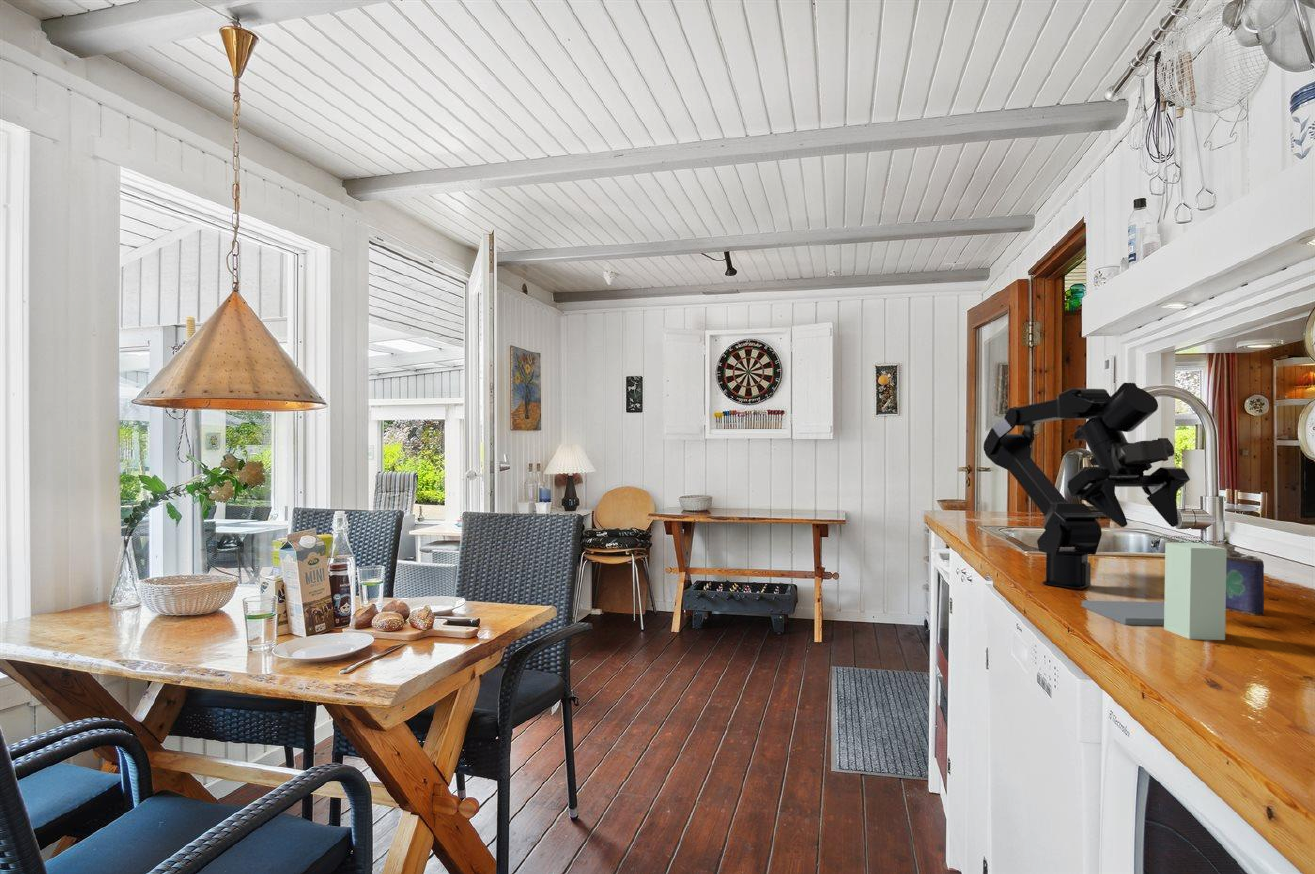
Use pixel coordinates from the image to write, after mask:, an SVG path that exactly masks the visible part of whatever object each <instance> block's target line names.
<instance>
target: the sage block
mask: <svg viewBox="0 0 1315 874" xmlns="http://www.w3.org/2000/svg"><path fill="white" fill-rule="evenodd" d="M1226 555H1227V549H1226V548H1223V547H1220V546H1216V545H1210V544H1206V543H1201V542H1165V549H1164V558H1165V559H1164V561H1165V562H1164V601H1163V602H1164V625H1163V630H1165V631H1167V632H1169V633H1170V632H1171V633H1173V634H1175V635H1178V636H1180V637H1183V638H1185V639H1188V640H1198V641H1199V640H1203V641H1206V640H1207V641H1210V640H1215V641H1217V640H1218V641H1225V640H1226V611H1227V610H1226Z"/></svg>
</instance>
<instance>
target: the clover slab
mask: <svg viewBox="0 0 1315 874" xmlns="http://www.w3.org/2000/svg"><path fill="white" fill-rule="evenodd" d="M1222 548H1226V549H1227V555H1226V610H1225V611H1232V612H1235V613H1237V612H1238V613H1242V614H1247V615H1251V616H1260V617H1262V616H1264V612H1265V611H1264V609H1265V593H1264V591H1265V587H1264V586H1265V584H1264V582H1265V579H1264V578H1265V577H1264V576H1265V572H1264V570H1265V564H1264V561H1263V560H1262V559H1261V558H1256V557H1254V555H1249V554H1247V555H1246V556H1245V554H1244V553H1241V552H1239V551H1237V550H1235V549H1236V548H1238V547H1237V545H1234V544H1233V545H1227V546H1226V545H1225V546H1224V545H1223V547H1222Z"/></svg>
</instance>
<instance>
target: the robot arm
mask: <svg viewBox="0 0 1315 874" xmlns="http://www.w3.org/2000/svg"><path fill="white" fill-rule="evenodd" d="M1158 408H1159V402H1158V401H1157V399H1156V398H1155V396H1153V395H1152V394H1150V393H1149V392H1148V391H1146V390H1144V389H1143V388H1140V387H1138V385H1137V384H1136V383H1135V382H1123V383H1122V384H1121V385H1120V386H1119V387H1118V389H1117V390H1116V391H1115V392H1114V393H1113V394H1112V395H1110V394H1109V392H1108V391H1107V389H1105V388H1074V387H1073V388H1070V389H1067V390H1064V391H1063V392H1061V393H1059V394H1058V395H1057V397H1056V398H1054V399H1049V400H1045V401H1041V402H1036V403H1031V404H1027V405H1022V406H1013V407H1010V408H1009V409H1008V410H1007V411H1006V413H1005V415H1004V417H1003V418H1002V419H1001V420H999V421H998V422H997V423H996V424H994V425H993V426H992V427H991V428H990V430H989V431H988V432H989V433H988V434H987V436H986V438H985V440H984V442H983V451H984V453H985V456H986V457H987V458H988V459H989V460H990V461H991V462H992V463H994V464H995V465H996V466H998V467H1001V468H1002V469H1004V470H1007V471H1008V472H1009V473H1011V475H1012V476H1013V478H1014V479H1015V480H1016V481H1017V482H1018V484H1019V485H1020V486H1021V488H1022V489H1023V490H1024V492H1025V493H1026V494H1027V495H1028V496H1029V498H1030V499H1031V501H1033V503H1034V504H1035V505H1036V507H1037V508H1038V509H1039V511H1040V512H1041V513H1042V515H1043V516H1044V524H1043V528H1044V532H1043V533H1042V534H1041V535H1040V536H1039V537H1038V538H1037V540H1036V543H1037V549H1038V551H1039V552H1041V553H1045V554H1046V555H1045V559H1046V560H1045V580H1042V581H1041V584H1043V585H1050V586H1054V587H1059V588H1060V587H1061V588H1065V589H1066V588H1067V589H1072V590H1081V589H1085V588H1088V587H1090V586H1091V585H1092V583H1091V575H1092V574H1091V573H1092V572H1091V570H1092V569H1091V567H1092V565H1091V564H1092V563H1091V562H1089V561H1088V560H1089V555H1093V556H1094V555H1095V556H1096V554H1097V550H1098V548H1099V545H1100V541H1101V539H1102V534H1103V533H1102V527H1101V524H1100V523H1099V521H1098V520H1097V519H1098V516H1097V515H1095V514H1094V513H1092V511H1091V509H1090V508H1089V507H1088V506H1087V504H1085V503H1082V502H1081V503H1077V502H1076V503H1071V502H1068V500H1067V499H1066V498H1065V497H1064V496H1063V495H1062V493H1061V492H1060V491H1059V490H1058V488H1057V487H1056V486H1055V485H1054V484H1053V482H1051V480H1050V479H1049V478H1048V477H1047V475H1046V474H1045V473H1044V471H1042V469H1040V467H1039V466H1038V465H1037V463H1036V462H1035V461H1034V460H1033V459H1032V451H1033V449H1032V445H1033V442H1034V440H1035V431H1034V427H1035V426H1036V424H1042V423H1047V422H1053V421H1060V420H1065V419H1066V420H1086V422H1085V423H1083V424H1078V425H1077V428H1076V431H1075V432H1074V433H1073V437H1072V438H1073V440H1075V441H1077V440H1078V441H1079V440H1080V441H1082V440H1083V441H1085V442H1086V445H1087V446H1088V448H1089V451H1090V453H1091V455H1092V456H1093V457H1092V458H1090V460H1089V463H1090V465H1091V466H1084V467H1082V468H1081V469H1079V471H1078V472H1077V473H1076V474H1074V475H1073V476H1072V477H1071V478H1069V479H1068V482H1067V488H1068V491H1069V492H1070V496H1072V497H1078V499H1079V500H1081V501H1085V502H1086V503H1088V505H1091V506H1093V507H1094V508H1095V509H1097V510H1098V511H1099V512H1101V513H1102V514H1104V515H1105V516H1106V517H1108V518H1109V519H1110V520H1112V521H1113V522H1114V523H1116V525H1118V526H1119V527H1121V528H1125V527H1126V526H1128V521H1127V518H1126V516H1125V515H1126V514H1125V512H1124V510H1123V508H1122V507H1121V504H1120V502H1119V500H1118V498H1117V495H1116V492H1115V491H1116V488H1122V487H1123V488H1124V487H1125V488H1127V487H1128V488H1130V487H1131V488H1142V491H1143V492H1144V493H1145V494H1146V495H1148V497H1146V499H1147V501H1148V502H1149V504H1151V506H1152V507H1153V508H1154V509H1155V510H1156V511H1157V512H1158V514H1159V515H1160V516H1161V517H1162V518H1163V520H1164V521H1165V522H1166V523H1167V524H1168V525H1169V526H1170V527H1171V528H1174V527H1177V526H1178V525H1179V516H1178V505H1177V503H1178V502H1177V496H1178V495H1177V494H1178V492H1179V490H1180V489H1181V488H1183V487H1184V486H1185V484H1187V483H1188V482H1189V481H1190V480H1191V478H1190V476H1189V475H1188V472H1187V471H1186V470H1185V468H1181V467H1177V466H1175V467H1173V466H1171V467H1170V466H1168V467H1166V466H1165V467H1163V466H1160V467H1159V468H1158V469H1156V470H1155V471H1153V472H1152V473H1151V474H1145V473H1144V472H1146V471H1149V470H1150V469H1152V468H1153V466H1152V464H1153V463H1157V462H1161V461H1162V462H1167V461H1169V458H1170V457H1173V456H1174V454H1175V447H1174V445H1173V443H1172V442H1171V440H1170V439H1169V438H1167V437H1158V438H1157V439H1152V440H1141V441H1140V440H1139V441H1136V442H1129V441H1128V439H1127V438H1126V436H1125V435H1124V433H1129V432H1132V431H1134V430H1136V429H1137V428H1138V427H1139V426H1140V425H1141V424H1143V423H1144V422H1145V421H1146V420H1147V419H1148V418H1149V417H1150V416H1152V415H1153V414H1154V413H1156V412H1157V410H1158ZM1018 426H1020V427H1023V430H1022V432H1021V433H1010V432H1012V431H1013V430H1014V429H1015V427H1018ZM1123 432H1124V433H1123Z"/></svg>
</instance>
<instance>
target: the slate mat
mask: <svg viewBox="0 0 1315 874" xmlns="http://www.w3.org/2000/svg"><path fill="white" fill-rule="evenodd" d="M1081 607H1082V608H1084V609H1086V610H1090V611H1092V612H1094V613H1097V614H1099V615H1100V616H1103V617H1106V618H1108V619H1110V620H1113V621H1116V622H1118V623H1120V624H1122V625H1125V626H1164V601H1135V600H1133V601H1132V600H1130V601H1129V600H1127V601H1126V600H1125V601H1123V600H1122V601H1121V600H1081Z"/></svg>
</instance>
